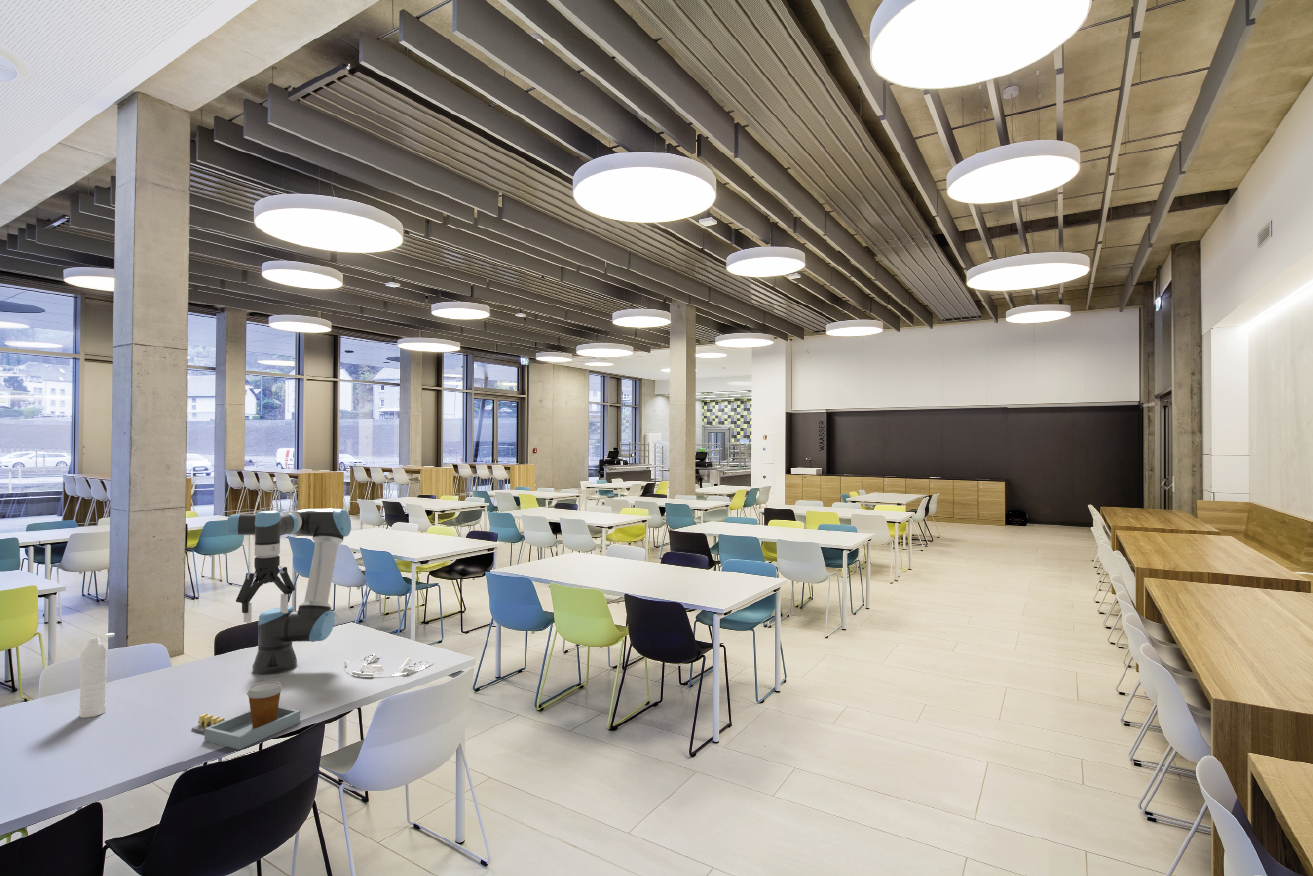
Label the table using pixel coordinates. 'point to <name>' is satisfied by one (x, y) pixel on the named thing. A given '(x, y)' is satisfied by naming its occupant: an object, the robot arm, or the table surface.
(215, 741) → the shallow rectangular grey tray
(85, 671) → the water bottle
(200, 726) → the clip
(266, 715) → the disposable coffee cup
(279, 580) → the robot arm
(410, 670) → the cable organizer
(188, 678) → the table surface
